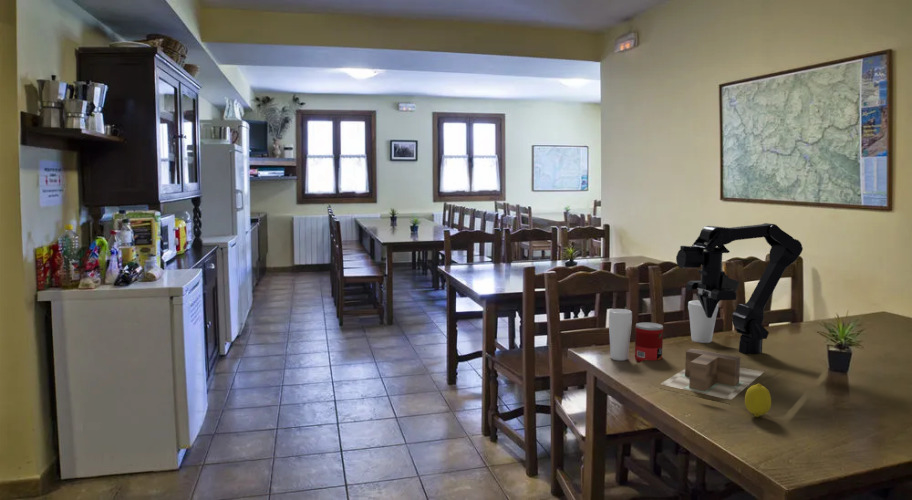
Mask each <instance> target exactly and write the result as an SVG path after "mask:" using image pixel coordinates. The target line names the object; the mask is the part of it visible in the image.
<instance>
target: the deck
mask: <svg viewBox="0 0 912 500" xmlns="http://www.w3.org/2000/svg"><path fill="white" fill-rule="evenodd" d="M763 373H765V372H764V371H761V370H757V369H749V368H745V367H740V375H739V383H738V384H737V385H736V386H730V385H725V384H720V383H716V384H714V385H713V386H712V387H710V388H709V389H708V390H706V391H700V390H695V389H691V388H689V382H690V377H686V376H685V368H684V369H682V370H680V371H679V372H677V373H676V374H674V375H672V376H671V377H669V378H667V379H666V380H664V381H662V382H661V383H660V385H662V386H666V387H671V388H675V389H679V390H680V389H681V390H684V391H688V392H693V393H697V394H703V395H707V396H712V397H715V398H720V399H725V400H728V401H731V400H733V399H734V398H735V397H736V396H738V395H739V394H740V393H741V392H742V391H744V389H746V388H747V387H749V386H750V384H752V383H753V382H754V381H756V379H758V378H759V377H760V376H762V375H763ZM659 389H660V390H662V388H659ZM663 390H665V391H667V389H665V388H663ZM668 391H671V390H669V389H668ZM672 392H674V393H675V390H674V391H673V390H672ZM676 393H679V394H680V392H679V391H676ZM681 394H683V395H684V393H682V392H681ZM685 395H687V396H689V394H687V393H685ZM690 396H692V397H693V395H690ZM694 397H696V398H698V396H696V395H694ZM699 398H700V399H702V397H701V396H699ZM703 399H705V400H709V401H711V399H708V398H706V397H705V398H704V397H703ZM712 401H713V402H715V400H714V399H712ZM716 402H719V403H720V401H718V400H716ZM721 403H723V404H724V402H722V401H721ZM725 404H726V405H727V404H728V405H729V403H726V402H725Z"/></svg>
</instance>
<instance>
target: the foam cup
mask: <svg viewBox="0 0 912 500" xmlns="http://www.w3.org/2000/svg"><path fill="white" fill-rule="evenodd" d="M687 309H688V316H689V324H690V325H689V326H690V335H691V336H690V337H691V341H692V342H695V343H699V344H700V343H701V344H709V343H712V340H713V337H714V336H713V335H714V330H715V325H716V320H717V315H718V312H719V303H718V304H717V306H716V308H715V310H714V313H713V315H712V317H711V318H707V316H706V314H705V312H704V309H703V307H702V305H701V303H700V301H699V299H698V300H697V299H696V300H690V301H688V302H687Z"/></svg>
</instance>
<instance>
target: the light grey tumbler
mask: <svg viewBox="0 0 912 500" xmlns="http://www.w3.org/2000/svg"><path fill="white" fill-rule="evenodd" d="M632 321H633V311H631V310H630V309H625V308H612V309H610V310H609V313H608V329H609V330H608V331H609V332H608V333H609V334H608V336H609V351H610V353H609V357H610V358H611V360H614V361H619V362H622V361H623V362H624V361H627V360H628V359H629V349H630V342H631V341H630V340H631V333H632V324H633V322H632Z"/></svg>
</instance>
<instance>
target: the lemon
mask: <svg viewBox="0 0 912 500" xmlns="http://www.w3.org/2000/svg"><path fill="white" fill-rule="evenodd" d="M744 405H745V407H746V409H747V410H748V411H749V413H751V414H752V415H753V416H754V417H756V418H759V417H761V416H762V415H765V414H767V413H768V412H769V410H770V409H771V406H772V396H771V394H770V391H769V389H768V388H766V386H763V385H762V384H761V383H757V384H753V385H750V387H748V388H747V390H746V391H745V395H744Z"/></svg>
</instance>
